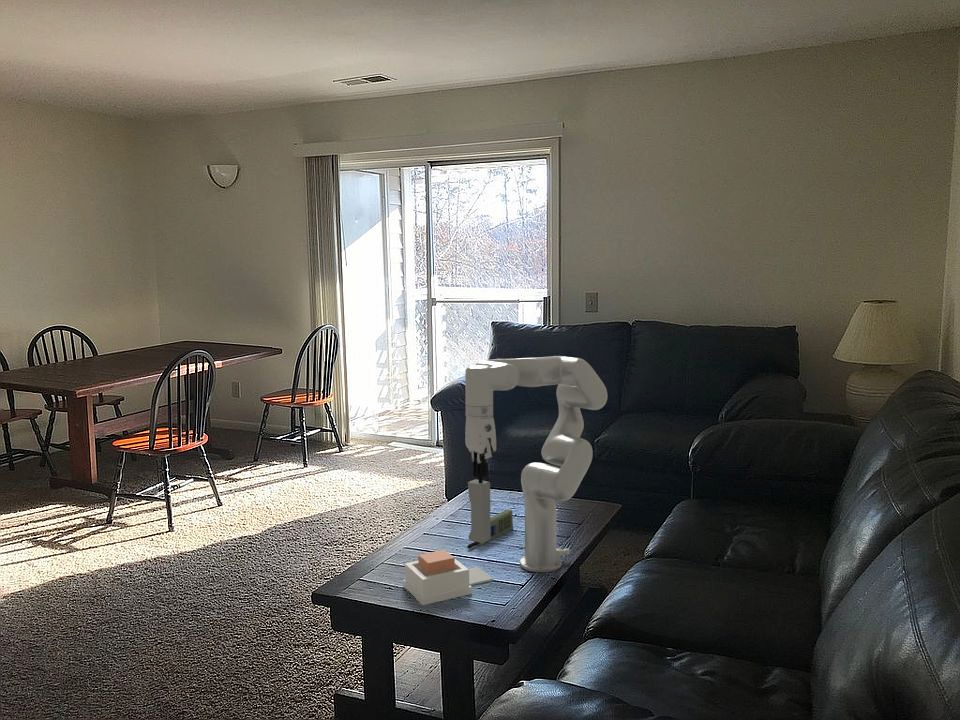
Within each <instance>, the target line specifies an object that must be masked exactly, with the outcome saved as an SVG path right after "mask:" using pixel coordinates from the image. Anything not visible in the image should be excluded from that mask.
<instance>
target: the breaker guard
mask: <svg viewBox="0 0 960 720" xmlns="http://www.w3.org/2000/svg"><path fill="white" fill-rule="evenodd" d="M402 587H403V588H404V589H405V590H406V589H407V590H406V591H407V592H408V591H409V592H410V593H411V594H412V595H413V596H414V597H415V598H416V601H417V602H418V603H420V605H422V606H426V605H429V604H434V603H438V602H442V601H447V600H451V598H452V599H454V598H455V599H456V598H459V597H464V596H467V595H472V594H473V587H472V585H471V586H470V585H469V568H468V567H466V566H465V565H464V564H463V563H461V562H460V561H459V560H457V559H456V558H455V568H452V569H448V570H443V571H438V572H434V573H429V574H428V573H427V572H426V571H425V570H424V569H423V568H421V567H420V566H419V564H418V560H415V561H414V560H413V561H410V562H406V563H404V579H403V580H402ZM409 592H408V593H409ZM410 593H409V594H410ZM411 594H410V595H411ZM412 595H411V596H412ZM413 596H412V597H413ZM414 597H413V598H414ZM415 598H414V599H415Z"/></svg>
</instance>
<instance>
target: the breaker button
mask: <svg viewBox="0 0 960 720" xmlns="http://www.w3.org/2000/svg"><path fill="white" fill-rule="evenodd" d="M417 558H418V560H417V561H418V564H419V566H420V567H421V568H423V569H424V570H425V571H426V572H427V573H428V574H429V573H434V572H438V571H443V570H448V569H452V568H455V559H456V557H454V556H453V555H452V554H450V553H449V552H448V551H446V549H440V550H436V551H431V552H426V553H421V554H418V557H417Z"/></svg>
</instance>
